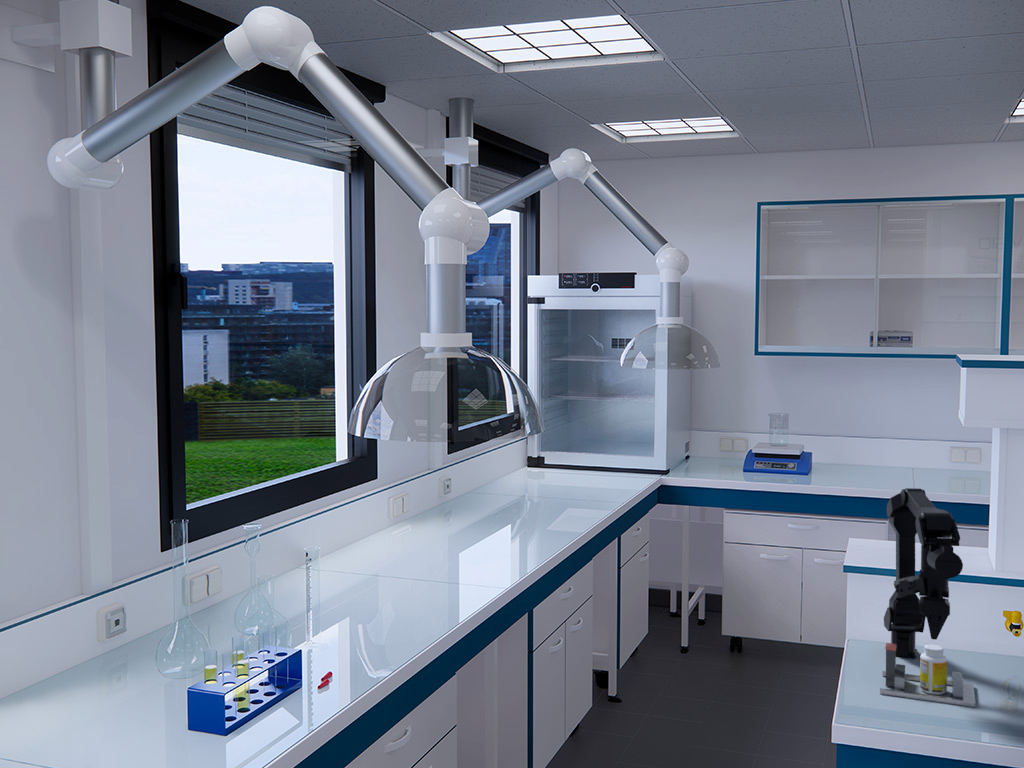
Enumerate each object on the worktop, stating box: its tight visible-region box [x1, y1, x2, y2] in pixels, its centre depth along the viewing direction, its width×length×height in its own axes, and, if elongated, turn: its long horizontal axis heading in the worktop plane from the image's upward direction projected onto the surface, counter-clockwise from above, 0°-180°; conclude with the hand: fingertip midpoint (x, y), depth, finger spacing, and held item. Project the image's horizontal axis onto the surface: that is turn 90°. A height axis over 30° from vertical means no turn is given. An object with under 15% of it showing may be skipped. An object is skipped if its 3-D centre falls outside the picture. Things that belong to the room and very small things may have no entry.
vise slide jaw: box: [885, 642, 906, 691], centre depth 215 cm, size 9×4×9 cm, turn 156°
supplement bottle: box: [919, 644, 948, 696], centre depth 211 cm, size 6×6×10 cm
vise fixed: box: [879, 670, 976, 708], centre depth 212 cm, size 13×19×4 cm
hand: (933, 635), depth 211 cm, fingers open, 6 cm apart
